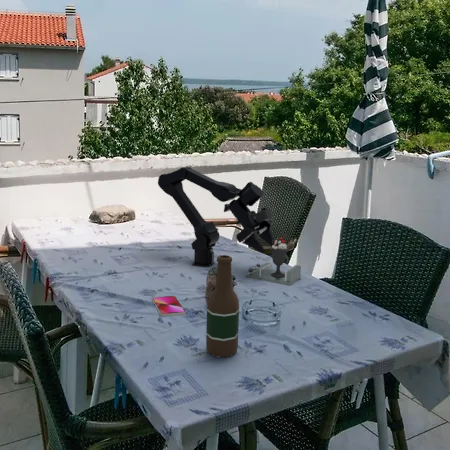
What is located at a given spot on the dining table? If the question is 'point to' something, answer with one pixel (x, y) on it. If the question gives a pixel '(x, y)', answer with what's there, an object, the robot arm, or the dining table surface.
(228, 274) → the beer bottle
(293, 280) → the vise
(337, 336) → the dining table surface
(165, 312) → the smartphone
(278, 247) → the sundae
